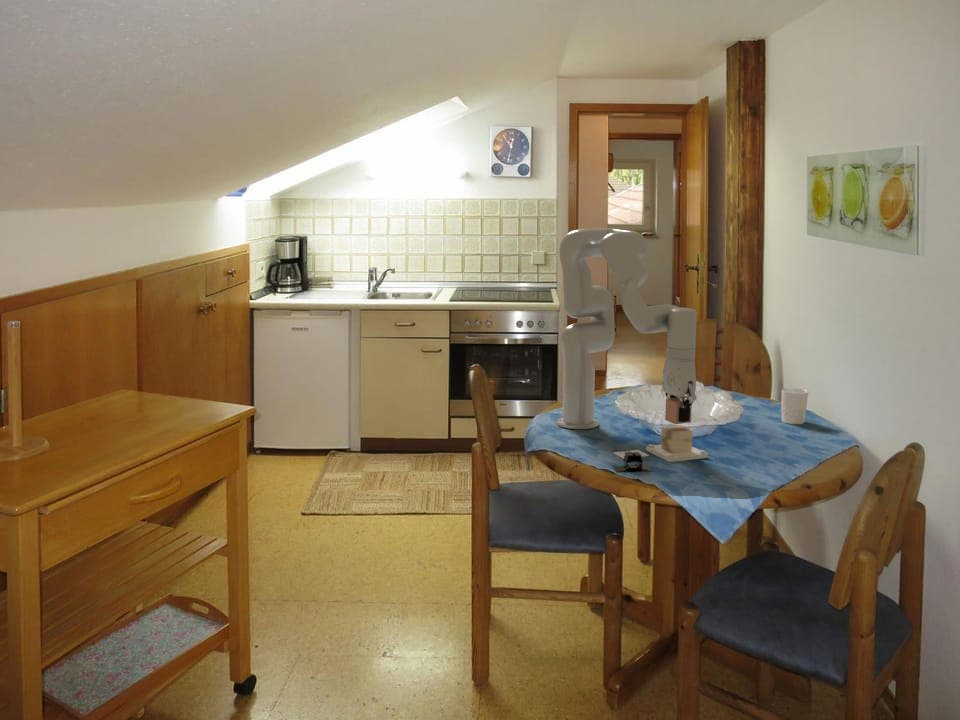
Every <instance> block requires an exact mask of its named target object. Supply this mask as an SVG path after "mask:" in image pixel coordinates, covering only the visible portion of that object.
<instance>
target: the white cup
mask: <svg viewBox="0 0 960 720" xmlns="http://www.w3.org/2000/svg"><path fill="white" fill-rule="evenodd" d="M808 397H809V391H808V390H807V389H803V388H798V387H797V388H796V387H788V388H787V387H786V388H785V387H784V388H782V389H781V403H780V404H781V407H780V408H781V422H782V423H784V424H789V425H803V424H804V423H805V420H806V413H807V406H808Z"/></svg>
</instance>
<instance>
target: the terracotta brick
mask: <svg viewBox="0 0 960 720" xmlns="http://www.w3.org/2000/svg"><path fill="white" fill-rule="evenodd" d="M686 399H687V398H684V402H685V401H686ZM680 407H681V405H680V397H678V398H669V399H667V398H665V412H664V413H665V416H664V417H665V418H664V421H666V422H669V423H671V424H673V425H681V424H691V423H692V407H693V406H692V407H690V421H688V422H679V408H680Z"/></svg>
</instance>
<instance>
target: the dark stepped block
mask: <svg viewBox="0 0 960 720" xmlns="http://www.w3.org/2000/svg"><path fill="white" fill-rule="evenodd" d="M622 460H623V465H611V467H612V468H613V470H614V471H615V473H617V474H618V473H643V472H645V473H646V472H647V473H648V472H649V473H650V472H654V470H653V469H652V468H650V466H649V465H645V464H644V465H643V457H641V454H640V453H639V452H628V453H625V456H624V459H623V458H622ZM631 463H635V464H631Z"/></svg>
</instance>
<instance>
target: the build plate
mask: <svg viewBox="0 0 960 720" xmlns="http://www.w3.org/2000/svg"><path fill="white" fill-rule="evenodd" d="M645 447H646V448H645V450H646V452H648V453H651V454H652V455H654V456H656V457H658V458H660V459H662V460H664V461H666V462H667V463H668V462H669V463H673V462H674V463H675V462H684V461H690V460H692V461H693V460H698V459H699V460H700V459H707V458H708V453H707V452H706V450H703V449H702V450H701V449H699V448H696V447H694V446H692V452H684V453H675V454H672V453H670V452H668V451H666V450H664V449H662V448H661V444H656V445H655V444H648V445H647V446H645Z"/></svg>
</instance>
